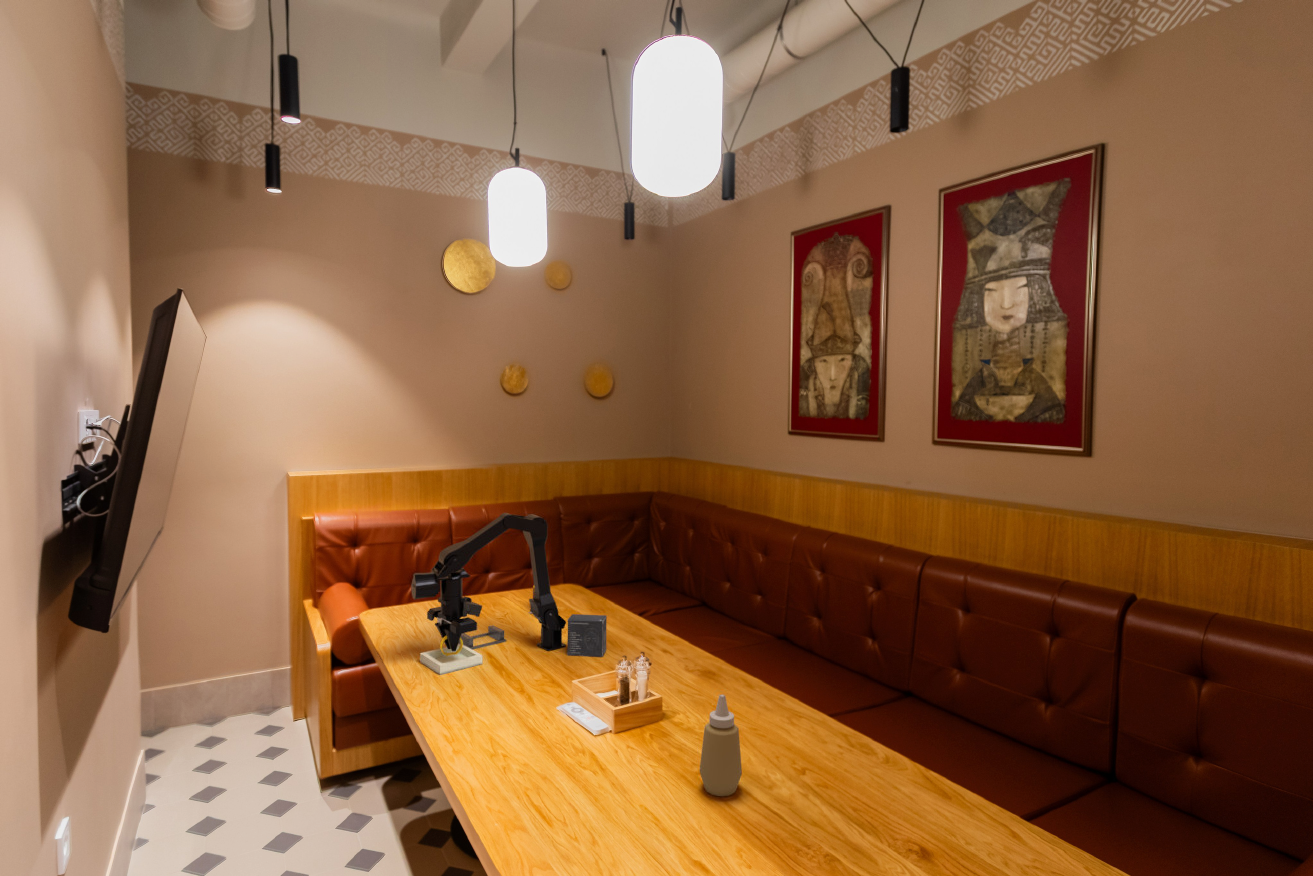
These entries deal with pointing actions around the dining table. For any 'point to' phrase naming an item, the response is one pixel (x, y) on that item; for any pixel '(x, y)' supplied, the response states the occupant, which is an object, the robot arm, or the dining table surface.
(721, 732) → the squeeze bottle
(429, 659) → the parts tray
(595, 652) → the box
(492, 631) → the grey rectangular open frame
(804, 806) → the dining table surface
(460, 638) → the watch
